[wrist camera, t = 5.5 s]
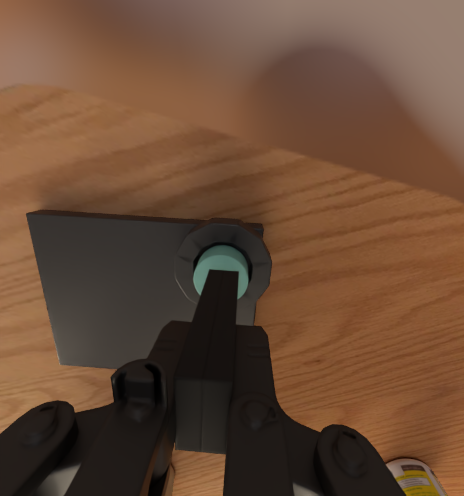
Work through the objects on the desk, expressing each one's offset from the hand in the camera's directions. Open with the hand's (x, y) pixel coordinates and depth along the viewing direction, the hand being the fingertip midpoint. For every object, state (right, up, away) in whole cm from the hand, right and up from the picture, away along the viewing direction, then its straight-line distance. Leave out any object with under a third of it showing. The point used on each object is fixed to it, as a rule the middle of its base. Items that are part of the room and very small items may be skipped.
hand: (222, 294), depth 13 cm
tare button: (0, +1, +3) cm, 3 cm away
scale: (-6, -1, +7) cm, 9 cm away
